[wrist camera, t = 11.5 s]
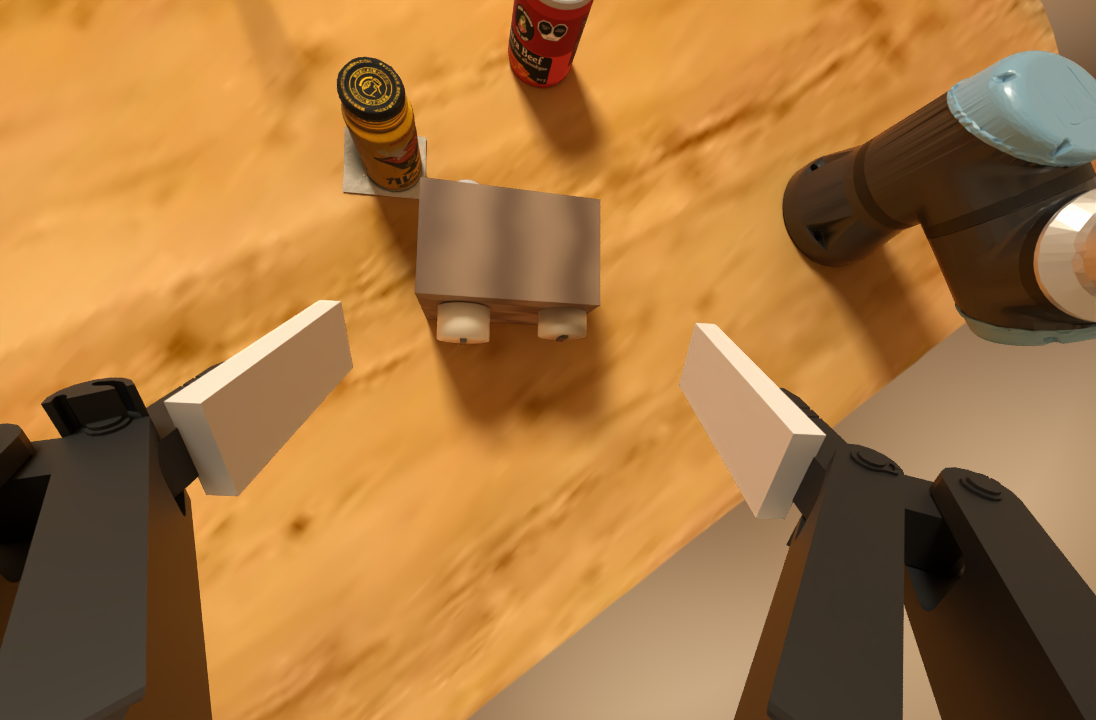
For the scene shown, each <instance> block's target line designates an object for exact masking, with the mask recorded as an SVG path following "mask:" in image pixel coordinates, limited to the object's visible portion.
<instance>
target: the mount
mask: <svg viewBox="0 0 1096 720" xmlns="http://www.w3.org/2000/svg"><path fill="white" fill-rule="evenodd" d="M415 294H416V296H417V299H418V301H419V303H420V305H421V308H422V310H423V312H424V314H425V317H426V319H437V317H438V305H440V304H443V303H450V302H465V303H475V304H480V305H484V306H487V307H489V308H490V322H499V323H518V324H536V325H538V337H539V338H543V339H549V340H556V341H564V340H577V339H583V338H586V337H587V314H588V313H589V312H591V311H592V310H594V309H595V308H597V307H598V306H600V199H592V198H584V197H576V196H568V195H560V194H552V193H544V192H536V191H529V190H521V189H513V188H505V187H497V186H489V185H481V184H473V183H465V182H457V181H449V180H441V179H433V178H425V177H420V195H419V217H418V238H417V260H416V282H415Z"/></svg>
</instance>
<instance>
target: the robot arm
mask: <svg viewBox="0 0 1096 720" xmlns="http://www.w3.org/2000/svg"><path fill="white" fill-rule="evenodd" d="M1095 159H1096V80H1095V79H1094V78H1093V77H1092V76H1091V75H1090V74H1089V73H1088V72H1087V71H1086V70H1084V69H1083V68H1082V67H1080V66H1079V65H1077V64H1076V63H1074V62H1073V61H1071V60H1069V59H1067V58H1064V57H1062V56H1060V55H1058V54H1055V53H1051V52H1046V51H1025V52H1020V53H1016V54H1013V55H1011V56H1008V57H1006V58H1004V59H1002V60H1000V61H998V62H996V63H995V64H993V65H991V66H989V67H988V68H986V69H984V70H982V71H981V72H979V73H977V74H975V75H974V76H972V77H970V78H967V79H964V80H962V81H960V82H958V83H957V84H955V85H954V86H952V88H951V89H950V90H949V91H948V92H946V93H945V94H943V95H942V96H940V97H938V98H937V99H935V100H934V101H932V102H930V103H929V104H927V105H926V106H924V107H922V108H921V109H919V110H918V111H916V112H915V113H913V114H911V115H910V116H908V117H907V118H905V119H903V120H902V121H900V122H899V123H897V124H895V125H894V126H892V127H890V128H889V129H887V130H885V131H884V132H882V133H881V134H879V135H878V136H876V137H874V138H873V139H871V140H870V141H868V142H866V143H865V144H863V145H860V146H856V147H853V148H850V149H846V150H843V151H839V152H836V153H833V154H829V155H826V156H823V157H820V158H818V159H815V160H814V161H812V162H810V163H809V164H807V165H806V166H804V167H803V168H801V169H800V170H798V171H797V172H796V173H795V174H794V175H793V176H792V178H791V179H790V181H789V182H788V184H787V187H786V189H785V193H784V198H783V214H784V219H785V223H786V226H787V229H788V231H789V234H790V236H791V237H792V239H793V241H794V242H795V244H796V245H797V246H798V248H799V249H800V250H801V251H802V252H803V253H804V254H805V255H807V256H808V257H809V258H811V259H812V260H814V261H816V262H818V263H820V264H823V265H826V266H843V265H847V264H850V263H852V262H855V261H858V260H861V259H863V258H865V257H867V256H868V255H870V254H871V253H873V252H874V251H875V250H877V249H878V248H879V247H881V246H882V245H884V244H885V243H886V242H888V241H889V240H890V239H892V238H893V237H895V236H896V235H897V234H899V233H900V232H901V231H903V230H905V229H907V228H910V227H912V226H915V225H918V224H921V227H922V228H923V230H924V233H925V235H926V237H927V239H928V241H929V243H930V246H931V248H932V250H933V252H934V255H935V257H936V259H937V262H938V264H939V266H940V269H941V271H942V273H943V276H944V278H945V280H946V283H947V285H948V287H949V290H950V292H951V294H952V297H953V299H954V301H955V307H956V309H957V311H958V312H959V314H960V315H961V316H962V317H964V319H965V321H966V323H967V325H968V326H969V328H970V329H971V331H972V332H973V333H974V334H976V335H977V336H978V337H980V338H982V339H985V340H987V341H991V342H994V343H999V344H1005V345H1016V346H1041V345H1046V344H1048V343H1052V342H1060V343H1062V344H1065V343H1072V342H1079V341H1085V340H1090V339H1095V338H1096V173H1095V171H1094V169H1093V167H1092V164H1091V161H1094V160H1095ZM352 368H353V364H352V358H351V353H350V347H349V342H348V336H347V331H346V326H345V320H344V315H343V309H342V304H341V301H329V300H319V301H317V302H316V303H314V304H313V305H311V306H310V307H308V308H306V309H305V310H303V311H302V312H300V313H299V314H297V315H296V316H294V317H293V318H291V319H290V320H288V321H286V322H285V323H283V324H282V325H280V326H279V327H277V328H276V329H274V330H273V331H271V332H270V333H268V334H267V335H265V336H263V337H262V338H260V339H259V340H257V341H256V342H254V343H253V344H251V345H250V346H248V347H247V348H245V349H244V350H242V351H240V352H239V353H237V354H236V355H234V356H233V357H231V358H230V359H228V360H227V361H224V362H221V363H219V364H216V365H214V366H211V367H210V368H208V369H206V370H205V371H203V372H202V373H200V374H199V375H197V376H196V378H192V379H191V380H189V381H188V382H186V383H185V384H183V387H182V386H180V387H178V388H177V389H175V390H174V391H172V392H170V393H169V394H167V395H166V396H164V397H163V398H161V399H159V400H158V401H156V402H155V403H153V404H152V405H150V406H149V407H147V408H146V407H145V405H144V403H143V401H142V399H141V397H140V395H139V393H138V391H137V389H136V387H135V385H134V383H133V382H132V380H130V379H126V378H104V379H97V380H92V381H88V382H84V383H80V384H76V385H73V386H70V387H68V388H65V389H62V390H60V391H58V392H56V393H54V394H52V395H51V396H49V397H47V398H46V399H45V400H44V401H43V402H42V403H41V405H42V406H43V408H44V410H45V411H46V413H47V414H48V416H49V417H50V419H51V421H52V422H53V424H54V425H55V427H56V428H57V430H58V432H59V433H60V435H61V436H62V438H58V439H50V440H42V441H34V442H30V440H29V439H28V438H27V436H26V435H25V433H24V432H23V430H22V429H21V428H20V427H19V426H18V425H14V424H0V720H212V713H211V703H210V693H209V683H208V673H207V663H206V652H205V642H204V632H203V622H202V612H201V601H200V591H199V581H198V571H197V561H196V551H195V540H194V530H193V520H192V510H191V500H190V498H189V495H188V493H187V491H186V489H185V488H186V487H187V486H188V485H190V484H191V483H192V482H193V481H194V480H195V479H196V478H197V477H198V478H199V480H200V482H201V485H202V487H203V489H204V491H205V493H206V495H221V496H239V495H240V494H241V492H242V491H243V490H244V489H245V488H246V487H247V486H248V485H249V483H250V482H251V481H252V480H253V479H254V478H255V477H256V476H257V475H258V473H259V472H260V471H261V470H262V469H263V468H264V467H265V466H266V464H267V463H268V462H269V461H270V460H271V459H272V458H273V457H274V456H275V454H276V453H277V452H278V451H279V450H280V449H281V448H282V447H283V445H284V444H285V443H286V442H287V441H288V440H289V439H290V438H291V436H292V435H293V434H294V433H295V432H296V431H297V430H298V429H299V428H300V426H301V425H302V424H303V423H304V422H305V421H306V420H307V419H308V417H309V416H310V415H311V414H312V413H313V412H314V411H315V410H316V409H317V407H318V406H319V405H320V404H321V403H322V402H323V401H324V400H325V398H326V397H327V396H328V395H329V394H330V393H331V392H332V391H333V389H334V388H335V387H336V386H337V385H338V384H339V383H340V382H341V381H342V379H343V378H344V377H345V376H346V375H347V374H348V373H349V372H350V370H351V369H352ZM679 386H680V388H681V390H682V391H683V393H684V395H685V396H686V398H687V400H688V402H689V403H690V405H691V407H692V409H693V410H694V412H695V414H696V415H697V417H698V419H699V421H700V422H701V424H702V426H703V428H704V429H705V431H706V433H707V434H708V436H709V438H710V440H711V441H712V443H713V445H714V447H715V448H716V450H717V452H718V453H719V455H720V457H721V459H722V460H723V462H724V464H725V466H726V467H727V469H728V471H729V472H730V474H731V476H732V478H733V479H734V481H735V483H736V484H737V486H738V488H739V490H740V491H741V493H742V495H743V497H744V498H745V500H746V502H747V503H748V505H749V507H750V508H751V510H752V512H753V514H754V516H755V517H756V518H768V519H785V517H786V515H787V513H788V511H789V509H790V507H791V505H792V503H793V502H794V503H795V505H796V506H797V508H798V509H799V511H800V512H801V513H802V516H801V518H800V520H799V522H798V524H797V525H796V527H795V529H794V531H793V533H792V535H791V537H790V539H789V541H788V543H787V545H788V546H790V547H789V551H788V554H787V557H786V560H785V563H784V566H783V569H782V572H781V575H780V579H779V582H778V585H777V588H776V591H775V594H774V597H773V600H772V603H771V606H770V610H769V612H768V616H767V619H766V622H765V625H764V628H763V631H762V634H761V637H760V641H759V644H758V646H757V650H756V653H755V656H754V659H753V662H752V665H751V668H750V671H749V674H748V677H747V680H746V684H745V687H744V690H743V693H742V696H741V699H740V702H739V705H738V708H737V711H736V715H735V718H734V720H902V719H903V620H904V618H903V617H904V605H905V609H906V612H907V615H908V618H909V621H910V624H911V627H912V630H913V633H914V636H915V639H916V642H917V645H918V648H919V651H920V655H921V657H922V661H923V663H924V667H925V670H926V673H927V676H928V679H929V682H930V685H931V688H932V691H933V694H934V697H935V700H936V703H937V706H938V710H939V713H940V715H941V719H942V720H1096V596H1095V594H1094V593H1093V591H1092V590H1091V589H1090V588H1089V586H1088V585H1087V584H1086V583H1085V581H1084V580H1083V579H1082V577H1081V576H1080V575H1079V574H1078V572H1077V571H1076V570H1075V569H1074V567H1073V566H1072V565H1071V563H1070V562H1069V561H1068V560H1067V558H1066V557H1065V556H1064V554H1063V553H1062V552H1061V551H1060V549H1059V548H1058V547H1057V546H1056V545H1055V543H1054V542H1053V541H1052V539H1051V538H1050V537H1049V536H1048V534H1047V533H1046V532H1045V530H1044V529H1043V528H1042V526H1041V525H1040V524H1039V523H1038V522H1037V520H1036V519H1035V518H1034V516H1033V515H1032V514H1031V512H1030V511H1029V510H1028V509H1027V507H1026V506H1025V505H1024V504H1023V502H1022V501H1021V500H1020V499H1019V498H1018V497H1017V496H1016V495H1015V494H1014V493H1013V492H1012V491H1010V490H1009V489H1007V488H1006V487H1004V486H1002V485H1001V484H1000V483H999V482H998V481H996V480H994V479H992V478H991V479H989V477H988V476H985V475H983V474H980V473H975V472H972V471H969V470H965V469H960V468H955V467H954V468H945V469H944V470H942V471H941V473H940V474H939V476H938V477H937V478H936V480H935V481H934V482H931V481H927V480H923V479H919V478H915V477H911V476H907V475H904V473H903V470H902V469H901V468H900V467H899V466H898V465H897V464H896V463H895V462H894V461H892V460H891V459H890V458H888V457H887V456H885V455H883V454H881V453H879V452H877V451H875V450H873V449H870V448H867V447H864V446H860V445H855V444H847V443H846V442H845V441H844V440H843V439H842V438H841V437H840V436H839V435H838V434H837V433H836V432H835V431H834V430H833V429H832V428H831V427H830V426H829V425H828V424H826V423H825V422H824V421H823V420H822V419H819V416H818V415H817V414H816V413H815V412H814V411H813V410H810V407H809V406H808V405H807V404H806V403H805V402H804V401H802V400H801V399H800V398H799V397H798V396H796V395H794V394H793V393H791V392H789V391H788V390H786V389H784V388H778V387H777V386H776V385H775V384H774V383H773V382H772V381H771V380H770V379H769V378H768V377H767V376H766V375H765V374H764V373H763V372H762V371H761V370H760V369H759V368H758V367H757V366H756V365H755V364H754V363H753V362H752V361H751V359H750V358H749V357H748V356H747V355H746V354H745V353H744V352H743V351H742V350H741V349H740V348H739V347H738V346H737V345H736V344H735V343H734V342H733V341H732V340H731V339H730V338H729V337H728V336H727V335H726V334H725V333H724V332H723V331H722V330H721V329H720V328H719V327H718V326H717V325H716V324H705V323H695V326H694V330H693V333H692V337H691V341H690V345H689V349H688V353H687V357H686V360H685V364H684V368H683V372H682V376H681V380H680V384H679Z"/></svg>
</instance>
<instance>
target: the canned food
mask: <svg viewBox="0 0 1096 720" xmlns="http://www.w3.org/2000/svg"><path fill="white" fill-rule="evenodd" d="M592 3H593V0H514V7H513V15H512V22H511V30H510V38H509V46H508V55H509V60H510V63H511V66H512V68H513V70H514V72H515V73H516V74H517V76H518V77H519V78H521V79H522V80H523V81H525V82H526V83H528V84H530V85H532V86H536V87H544V88H545V87H551V86H554V85H556V84H558V83H560V82H561V81H562V80H563V79H564V78H565V76H566V75H567V74H568V72H569V71H570V68H571V65H572V62H573V59H574V56H575V53H576V50H577V47H578V44H579V41H580V38H581V35H582V32H583V29H584V27H585V24H586V21H587V18H588V15H589V12H590V9H591V6H592Z"/></svg>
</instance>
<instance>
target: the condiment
mask: <svg viewBox="0 0 1096 720" xmlns="http://www.w3.org/2000/svg"><path fill="white" fill-rule="evenodd" d="M337 92H338V94H339V98H340V99H341V102H342V104H341V109H342V115H343V118H344V121H345V123H346V125H347V127H345V145H344V173H343V192H352V193H364V194H374V195H382V196H390V197H402V198H413V199H419V195H420V177H425V178H426V137H418V136H417V132H416V127H415V122H414V114H413V109H412V105H411V103H410V101H409V100H408V98H407V96H406V94H405V88H404V85H403V83H402V80H401V78H400V77H399V76H398V74H397V73H396V72H395V71H394V70H393V68H392V67H391V66H389V65H387V64H386V63H384V62H382V61H380V60H378V59H376V58H369V57H358V58H355V59H352V60H351V61H350V62H348V63H347V64H346V65H345V66H344V67H343V68H342V70H341V71H340V72H339V74H338V78H337ZM363 174H364V175H365V176H363ZM366 177H368V179H367V178H366Z"/></svg>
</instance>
